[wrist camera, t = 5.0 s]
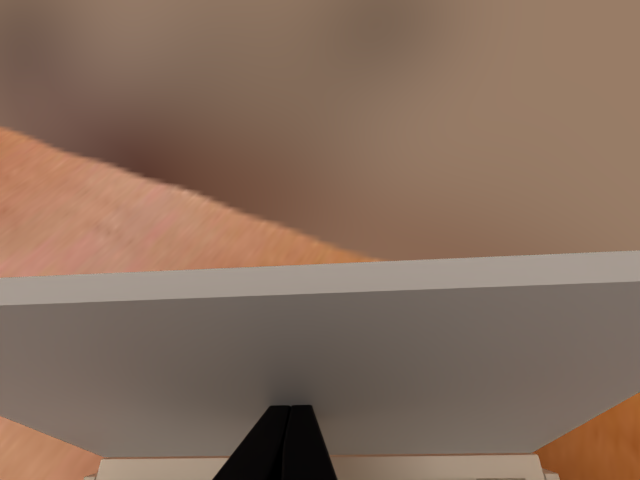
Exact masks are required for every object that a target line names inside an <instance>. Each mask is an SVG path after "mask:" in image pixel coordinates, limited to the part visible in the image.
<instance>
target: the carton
mask: <svg viewBox="0 0 640 480" xmlns="http://www.w3.org/2000/svg"><path fill="white" fill-rule="evenodd" d="M329 456H330V459H331V461H332V464H333V467H334V470H335V473H336V476H337V479H338V480H560V479H559V476H558V474H557V473H555V472H552V471H549V470H546V469H543V468H542V467H541V464H540V461H539V457H538V455H537V454H533V453H465V454H369V455H329ZM229 457H230V456H178V457H108V458H104V459H101V462H100V466H99V470H98V473H96V474H92V475H89V476H86V477H84V480H212V479H213V478H214V476H215V475H216V474H217V473H218V471H219V470H220V469H221V467H222V466H223V465H224V464H225V462H226V461H227V460H228V458H229Z"/></svg>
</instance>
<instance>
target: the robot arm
mask: <svg viewBox="0 0 640 480" xmlns="http://www.w3.org/2000/svg"><path fill="white" fill-rule="evenodd" d="M212 480H338V479H337V476H336V473H335V470H334V467H333V464H332V461H331V459H330V456H329V453H328V450H327V447H326V444H325V441H324V438H323V435H322V433H321V430H320V427H319V424H318V421H317V418H316V415H315V412H314V409H313V406H312V405H292V406H289V405H272V406H269V407H268V409H267V410H266V411H265V412H264V414H263V415H262V416H261V417H260V419H259V420H258V421H257V423H256V424H255V425H254V426H253V428H252V429H251V430H250V432H249V433H248V434H247V435H246V437H245V438H244V439H243V441H242V442H241V443H240V444H239V446H238V447H237V448H236V450H235V451H234V452H233V453H232V455H231V456H230V457H229V458H228V460H227V461H226V462H225V464H224V465H223V466H222V467H221V469H220V470H219V471H218V473H217V474H216V475H215V476H214V478H213V479H212Z"/></svg>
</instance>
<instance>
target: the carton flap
mask: <svg viewBox="0 0 640 480" xmlns="http://www.w3.org/2000/svg"><path fill="white" fill-rule="evenodd" d="M639 392H640V251H619V252H595V253H572V254H550V255H549V254H548V255H524V256H501V257H477V258H455V259H432V260H407V261H384V262H360V263H337V264H314V265H290V266H267V267H243V268H220V269H197V270H173V271H150V272H126V273H103V274H80V275H56V276H33V277H9V278H0V416H2V417H5V418H7V419H10V420H12V421H15V422H17V423H20V424H22V425H25V426H27V427H30V428H32V429H35V430H37V431H40V432H42V433H45V434H47V435H50V436H52V437H55V438H57V439H60V440H62V441H65V442H67V443H70V444H72V445H75V446H77V447H80V448H82V449H85V450H87V451H90V452H92V453H95V454H97V455H100V456H102V457H178V456H231V455H232V453H233V452H234V451H235V450H236V448H237V447H238V446H239V444H240V443H241V442H242V441H243V439H244V438H245V437H246V435H247V434H248V433H249V432H250V430H251V429H252V428H253V426H254V425H255V424H256V423H257V421H258V420H259V419H260V417H261V416H262V415H263V414H264V412H265V411H266V410H267V409H268V407H269V406H272V405H289V406H292V405H312V406H313V409H314V412H315V415H316V418H317V421H318V424H319V427H320V430H321V433H322V435H323V438H324V441H325V444H326V447H327V450H328V453H329V455H369V454H465V453H532V452H534V451H536V450H538V449H540V448H541V447H543V446H545V445H547V444H548V443H550V442H552V441H554V440H555V439H557V438H559V437H561V436H563V435H564V434H566V433H568V432H570V431H571V430H573V429H575V428H577V427H578V426H580V425H582V424H584V423H586V422H587V421H589V420H591V419H593V418H594V417H596V416H598V415H600V414H602V413H603V412H605V411H607V410H609V409H610V408H612V407H614V406H616V405H617V404H619V403H621V402H623V401H625V400H626V399H628V398H630V397H632V396H633V395H635V394H637V393H639Z"/></svg>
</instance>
